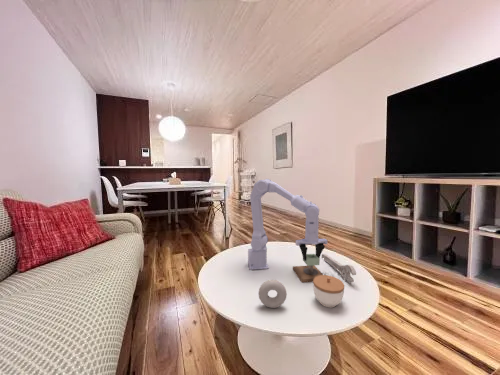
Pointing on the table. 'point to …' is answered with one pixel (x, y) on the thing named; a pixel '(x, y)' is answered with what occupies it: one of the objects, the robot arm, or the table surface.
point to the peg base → (306, 273)
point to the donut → (272, 301)
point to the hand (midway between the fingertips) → (310, 259)
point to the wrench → (341, 268)
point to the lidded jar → (328, 290)
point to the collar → (312, 260)
